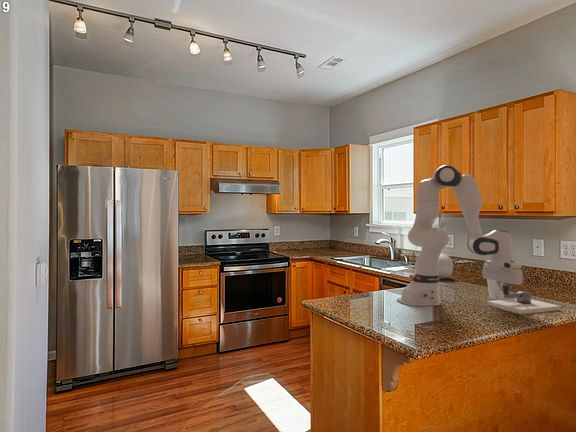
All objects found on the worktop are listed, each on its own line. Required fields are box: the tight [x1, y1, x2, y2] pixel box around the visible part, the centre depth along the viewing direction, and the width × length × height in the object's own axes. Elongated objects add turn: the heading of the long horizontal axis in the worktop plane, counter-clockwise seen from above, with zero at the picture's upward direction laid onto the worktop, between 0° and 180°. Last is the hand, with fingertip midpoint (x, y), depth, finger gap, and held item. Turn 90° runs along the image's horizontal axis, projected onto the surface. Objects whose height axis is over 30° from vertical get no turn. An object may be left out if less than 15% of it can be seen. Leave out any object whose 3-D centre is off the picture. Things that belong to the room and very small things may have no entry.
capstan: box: [503, 285, 532, 304], centre depth 180 cm, size 16×6×9 cm, turn 109°
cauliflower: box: [414, 253, 454, 280], centre depth 265 cm, size 20×25×22 cm
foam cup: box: [486, 279, 504, 301], centre depth 198 cm, size 10×9×13 cm
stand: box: [486, 298, 561, 315], centre depth 180 cm, size 26×18×2 cm
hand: (501, 290), depth 181 cm, fingers closed
